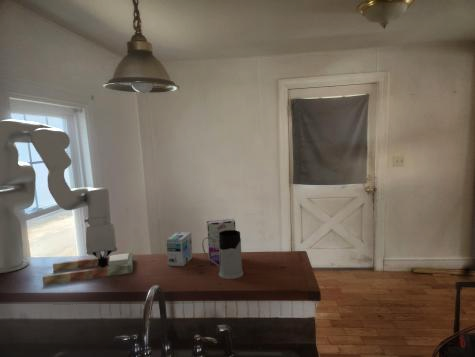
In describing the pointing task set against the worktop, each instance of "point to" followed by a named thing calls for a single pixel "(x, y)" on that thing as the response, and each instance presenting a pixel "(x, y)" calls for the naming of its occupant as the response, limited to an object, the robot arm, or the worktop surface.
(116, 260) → the cream block
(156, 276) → the worktop surface
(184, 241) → the light bulb box
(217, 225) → the candy bar box
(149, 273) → the worktop surface
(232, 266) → the white pitcher
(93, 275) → the trap lane
